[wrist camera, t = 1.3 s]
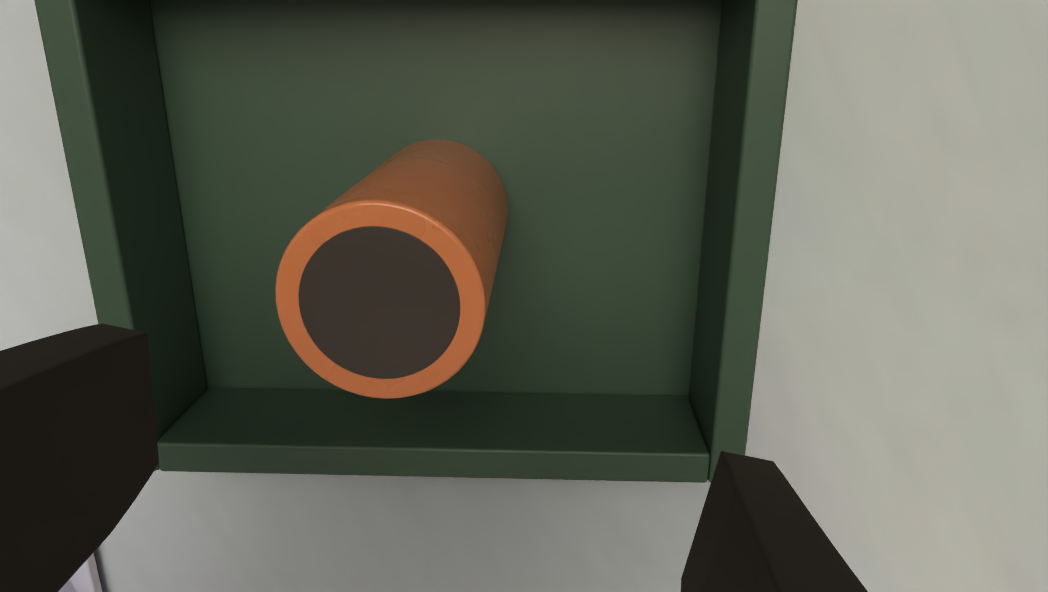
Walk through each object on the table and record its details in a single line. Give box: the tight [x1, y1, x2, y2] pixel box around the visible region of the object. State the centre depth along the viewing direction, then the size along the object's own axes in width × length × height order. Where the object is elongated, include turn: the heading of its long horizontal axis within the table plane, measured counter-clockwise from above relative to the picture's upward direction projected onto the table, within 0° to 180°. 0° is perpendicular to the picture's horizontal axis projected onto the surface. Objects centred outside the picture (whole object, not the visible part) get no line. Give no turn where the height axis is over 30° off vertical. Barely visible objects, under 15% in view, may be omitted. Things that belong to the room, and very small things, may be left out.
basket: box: [35, 0, 798, 482], centre depth 17 cm, size 15×12×4 cm
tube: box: [275, 139, 508, 399], centre depth 15 cm, size 3×3×7 cm
